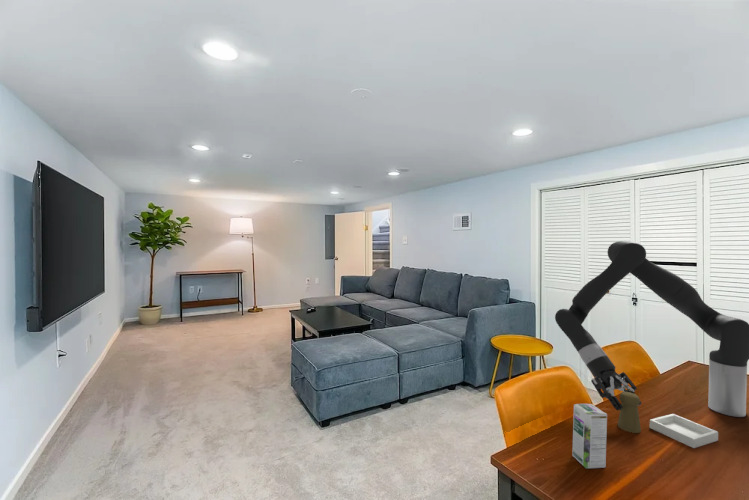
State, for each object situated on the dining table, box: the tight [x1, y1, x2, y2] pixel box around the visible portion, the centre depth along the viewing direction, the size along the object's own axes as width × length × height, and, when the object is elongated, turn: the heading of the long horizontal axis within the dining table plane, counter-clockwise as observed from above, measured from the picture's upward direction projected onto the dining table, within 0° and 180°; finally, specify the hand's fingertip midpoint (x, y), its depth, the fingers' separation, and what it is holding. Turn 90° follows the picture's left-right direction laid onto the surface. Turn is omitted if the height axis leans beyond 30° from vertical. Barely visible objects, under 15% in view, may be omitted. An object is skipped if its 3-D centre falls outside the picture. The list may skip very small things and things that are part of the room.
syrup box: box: [571, 403, 608, 469], centre depth 92 cm, size 6×6×14 cm
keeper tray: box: [649, 413, 719, 449], centre depth 105 cm, size 12×12×3 cm
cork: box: [617, 391, 642, 434], centre depth 109 cm, size 6×6×11 cm
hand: (629, 407), depth 109 cm, fingers open, 8 cm apart
